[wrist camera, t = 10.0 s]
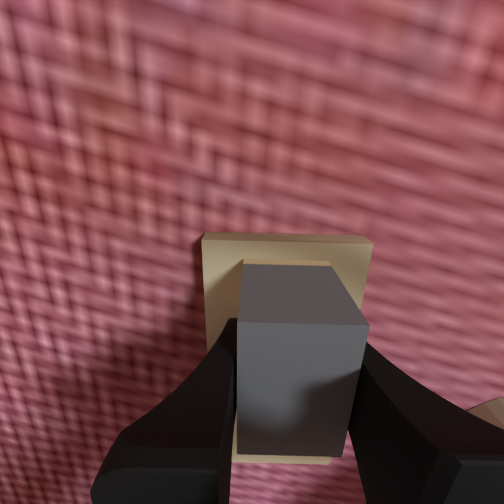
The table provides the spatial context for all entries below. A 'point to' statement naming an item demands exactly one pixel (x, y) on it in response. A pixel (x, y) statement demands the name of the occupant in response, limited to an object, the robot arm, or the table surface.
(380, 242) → the table surface
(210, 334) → the pine board
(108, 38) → the table surface
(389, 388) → the robot arm
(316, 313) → the block
